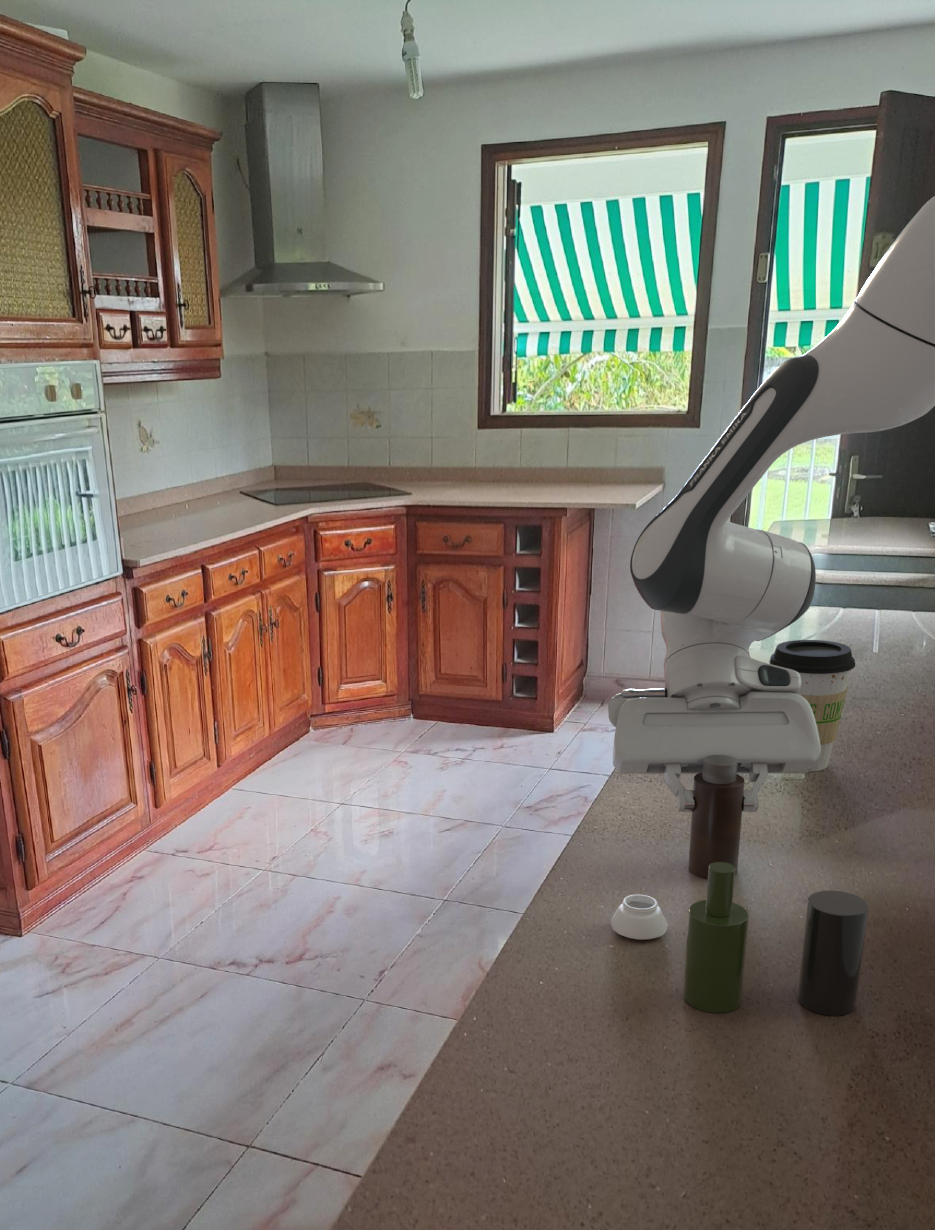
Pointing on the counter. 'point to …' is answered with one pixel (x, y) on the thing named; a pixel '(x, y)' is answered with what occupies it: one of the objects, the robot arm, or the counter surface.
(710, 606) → the robot arm
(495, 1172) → the counter surface
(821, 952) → the dark grey cylinder
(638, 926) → the white jar
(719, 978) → the oil cruet
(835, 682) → the coffee cup
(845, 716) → the counter surface
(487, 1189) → the counter surface
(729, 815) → the pepper mill
